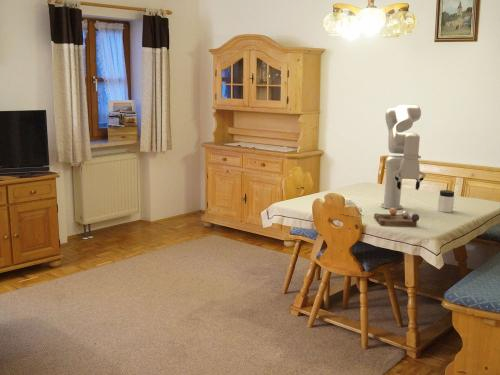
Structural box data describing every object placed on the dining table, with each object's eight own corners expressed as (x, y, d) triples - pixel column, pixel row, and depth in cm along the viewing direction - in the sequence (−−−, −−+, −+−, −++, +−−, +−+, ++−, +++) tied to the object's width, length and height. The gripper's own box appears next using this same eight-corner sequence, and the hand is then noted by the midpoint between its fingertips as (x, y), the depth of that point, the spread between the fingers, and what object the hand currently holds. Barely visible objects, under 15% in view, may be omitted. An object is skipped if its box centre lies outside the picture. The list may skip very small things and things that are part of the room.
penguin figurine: (343, 196, 325) (364, 200, 323) (340, 210, 327) (361, 214, 324) (341, 198, 319) (363, 202, 317) (339, 213, 321) (360, 217, 318)
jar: (449, 213, 332) (451, 193, 330) (436, 211, 337) (438, 191, 334) (454, 210, 339) (456, 191, 337) (440, 208, 344) (442, 189, 341)
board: (374, 218, 314) (374, 213, 313) (408, 219, 314) (408, 214, 314) (380, 225, 298) (381, 220, 298) (416, 226, 298) (416, 222, 298)
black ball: (410, 220, 301) (410, 212, 301) (417, 220, 301) (418, 213, 301) (412, 222, 297) (413, 214, 297) (419, 222, 297) (420, 214, 297)
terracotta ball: (388, 213, 314) (389, 206, 313) (395, 214, 314) (396, 207, 313) (390, 215, 310) (390, 208, 309) (397, 215, 310) (398, 208, 309)
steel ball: (400, 217, 308) (401, 209, 307) (407, 217, 308) (408, 210, 307) (402, 218, 304) (403, 211, 303) (409, 219, 304) (410, 211, 303)
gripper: (424, 157, 303) (421, 188, 306) (392, 156, 303) (390, 187, 306) (429, 159, 296) (426, 191, 299) (396, 157, 296) (393, 189, 299)
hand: (407, 189), depth 302 cm, fingers open, 9 cm apart
